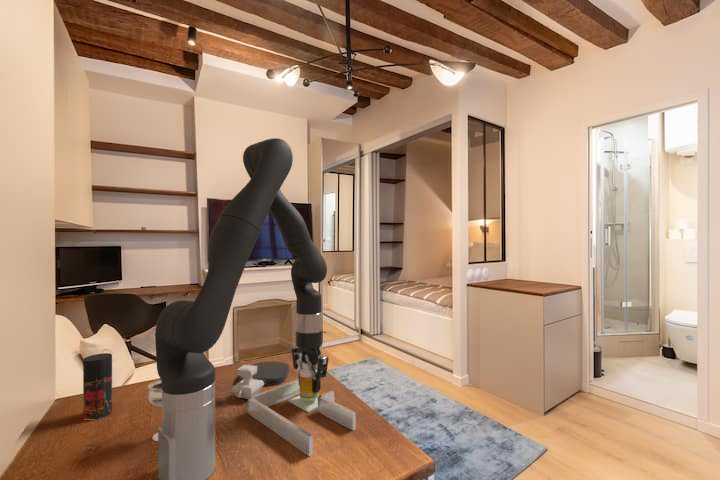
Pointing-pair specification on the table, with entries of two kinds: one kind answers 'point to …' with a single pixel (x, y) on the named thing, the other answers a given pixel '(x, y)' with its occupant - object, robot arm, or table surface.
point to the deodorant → (97, 386)
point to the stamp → (247, 382)
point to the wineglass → (155, 397)
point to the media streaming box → (271, 372)
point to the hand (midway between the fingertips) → (309, 388)
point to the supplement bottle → (307, 383)
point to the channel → (286, 428)
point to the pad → (305, 403)
